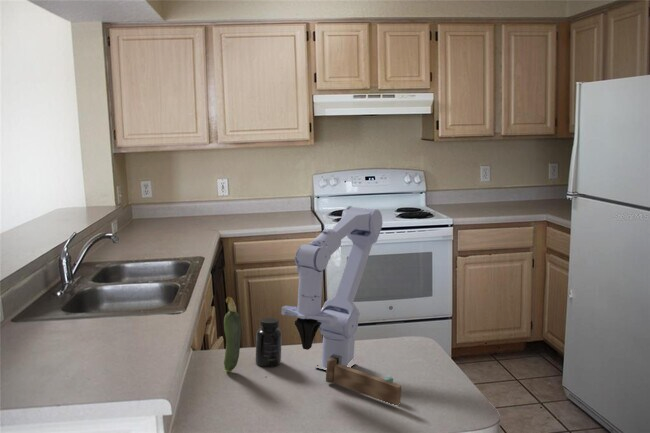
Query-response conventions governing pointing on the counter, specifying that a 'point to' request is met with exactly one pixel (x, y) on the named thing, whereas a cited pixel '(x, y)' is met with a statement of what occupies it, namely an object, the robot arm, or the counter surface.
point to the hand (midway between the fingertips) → (307, 348)
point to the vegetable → (232, 336)
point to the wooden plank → (363, 382)
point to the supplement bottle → (268, 343)
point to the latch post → (389, 379)
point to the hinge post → (339, 358)
